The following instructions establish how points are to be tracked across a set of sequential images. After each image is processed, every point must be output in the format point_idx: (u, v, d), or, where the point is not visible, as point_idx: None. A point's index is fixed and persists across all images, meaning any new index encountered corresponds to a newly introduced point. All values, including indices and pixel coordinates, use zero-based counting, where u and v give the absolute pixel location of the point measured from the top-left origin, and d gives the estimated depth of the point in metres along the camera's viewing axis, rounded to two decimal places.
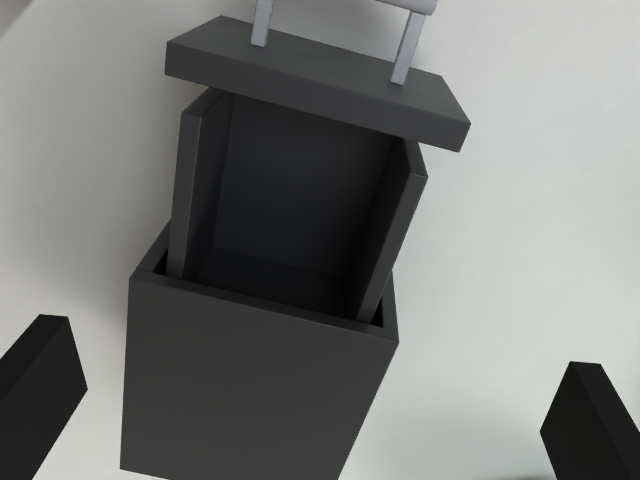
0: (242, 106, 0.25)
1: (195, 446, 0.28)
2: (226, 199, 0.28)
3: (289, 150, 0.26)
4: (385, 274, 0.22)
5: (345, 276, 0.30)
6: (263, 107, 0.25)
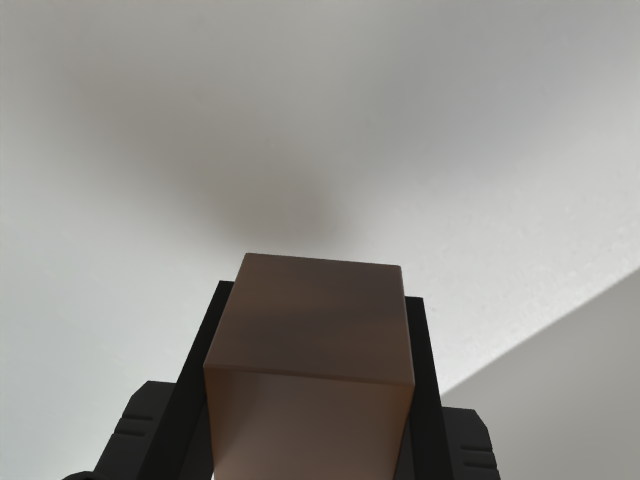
0: None
1: None
2: None
3: None
4: None
5: None
6: None
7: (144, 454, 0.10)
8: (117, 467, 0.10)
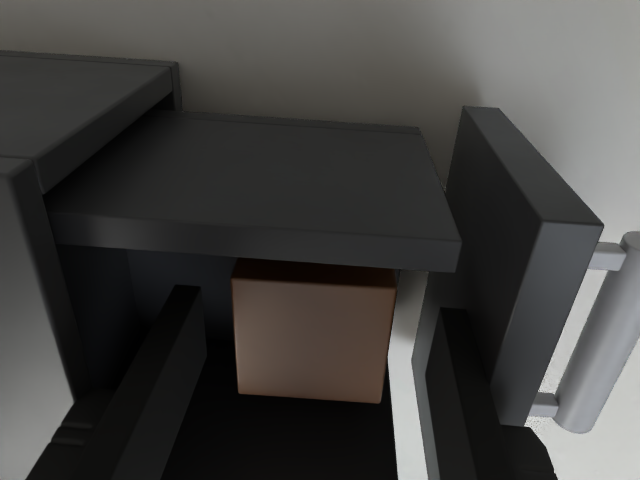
0: None
1: None
2: None
3: None
4: None
5: (144, 331, 0.20)
6: None
7: None
8: (49, 478, 0.10)
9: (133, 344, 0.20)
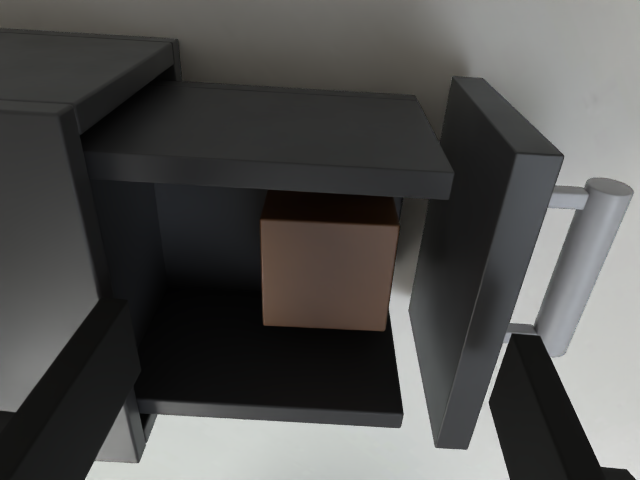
0: None
1: None
2: None
3: None
4: (262, 417, 0.17)
5: (171, 285, 0.23)
6: None
7: None
8: None
9: (162, 295, 0.22)
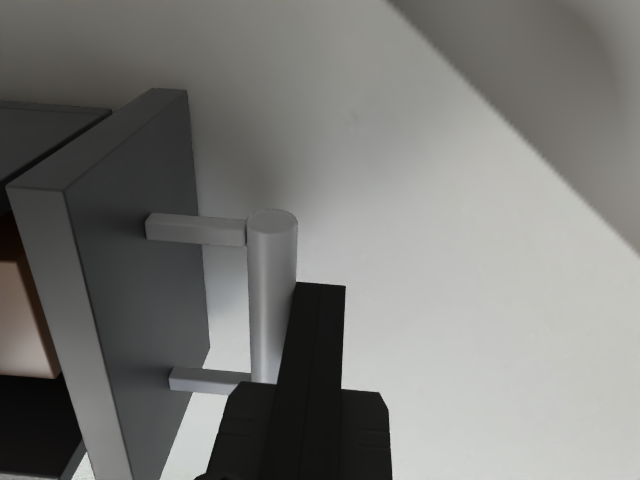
0: None
1: None
2: None
3: None
4: None
5: None
6: None
7: (253, 453, 0.10)
8: (229, 466, 0.10)
9: None
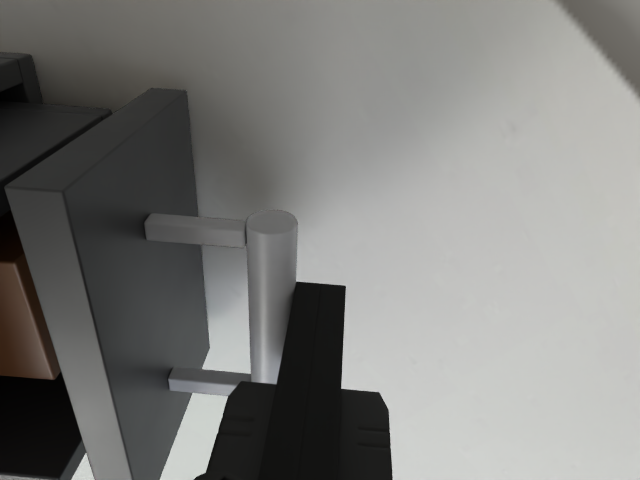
0: None
1: None
2: None
3: None
4: None
5: None
6: None
7: (253, 453, 0.10)
8: (229, 466, 0.10)
9: None
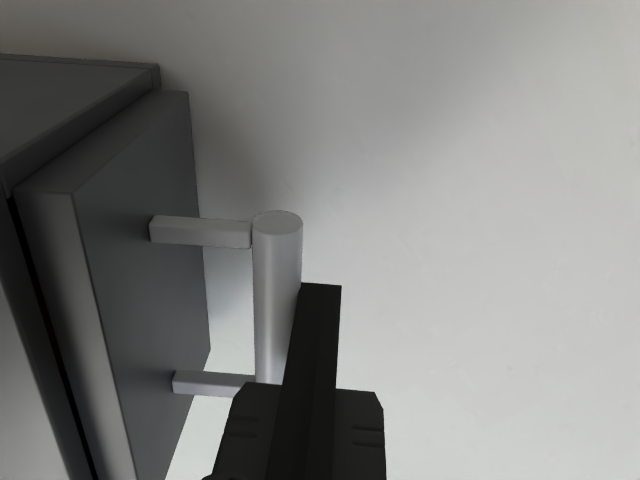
0: None
1: None
2: None
3: None
4: None
5: None
6: None
7: (259, 454, 0.10)
8: (235, 467, 0.10)
9: None
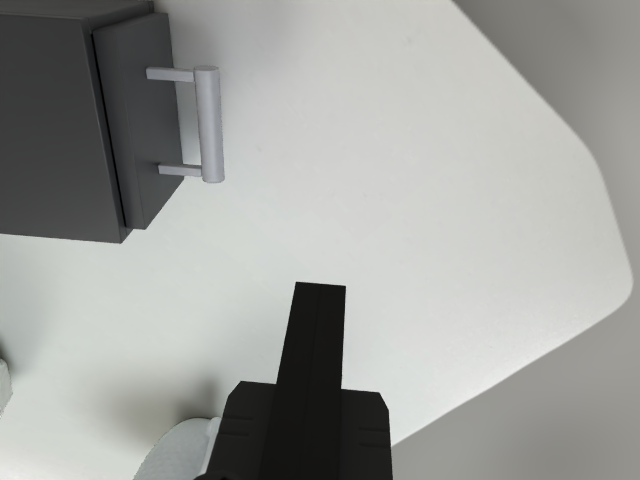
0: None
1: None
2: None
3: None
4: None
5: None
6: None
7: (252, 453, 0.10)
8: (229, 466, 0.10)
9: None
